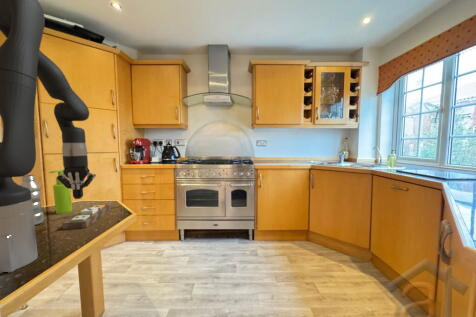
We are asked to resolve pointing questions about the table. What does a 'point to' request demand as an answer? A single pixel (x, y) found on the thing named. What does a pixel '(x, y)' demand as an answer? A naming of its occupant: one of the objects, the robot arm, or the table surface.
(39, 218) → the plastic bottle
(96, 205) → the one dot button
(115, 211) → the table surface
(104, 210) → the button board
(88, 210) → the three dot button
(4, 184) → the robot arm
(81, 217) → the two dot button
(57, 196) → the soap dispenser
